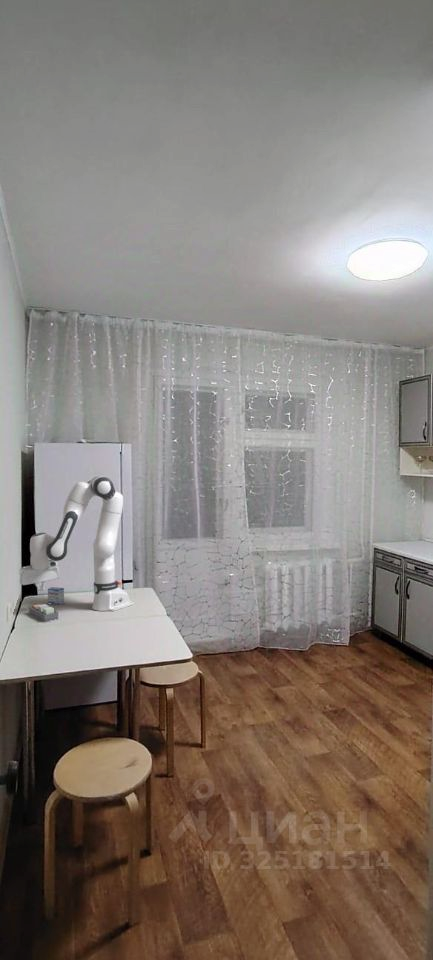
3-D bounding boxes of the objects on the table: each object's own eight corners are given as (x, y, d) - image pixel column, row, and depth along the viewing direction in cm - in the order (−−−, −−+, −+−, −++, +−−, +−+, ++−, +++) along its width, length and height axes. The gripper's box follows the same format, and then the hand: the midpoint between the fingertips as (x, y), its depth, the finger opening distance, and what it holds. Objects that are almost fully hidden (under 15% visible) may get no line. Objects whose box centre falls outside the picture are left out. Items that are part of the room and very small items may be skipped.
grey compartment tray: (42, 610, 267) (41, 604, 267) (58, 619, 252) (58, 612, 252) (29, 613, 262) (28, 606, 262) (44, 622, 247) (44, 615, 247)
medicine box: (47, 604, 280) (47, 588, 279) (52, 601, 284) (52, 586, 284) (59, 605, 277) (59, 589, 277) (64, 602, 282) (64, 587, 281)
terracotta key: (40, 609, 265) (40, 604, 265) (43, 611, 262) (43, 605, 262) (32, 611, 262) (32, 605, 262) (36, 612, 259) (35, 607, 259)
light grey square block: (45, 609, 260) (45, 604, 260) (48, 611, 257) (48, 605, 257) (37, 611, 257) (37, 605, 257) (41, 613, 254) (40, 607, 254)
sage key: (50, 612, 255) (50, 606, 255) (54, 614, 252) (53, 608, 252) (43, 614, 252) (42, 608, 252) (46, 615, 249) (46, 610, 249)
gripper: (21, 568, 250) (22, 595, 250) (60, 562, 263) (61, 587, 264) (17, 566, 254) (18, 593, 255) (55, 560, 268) (56, 585, 268)
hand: (40, 590), depth 259 cm, fingers closed
